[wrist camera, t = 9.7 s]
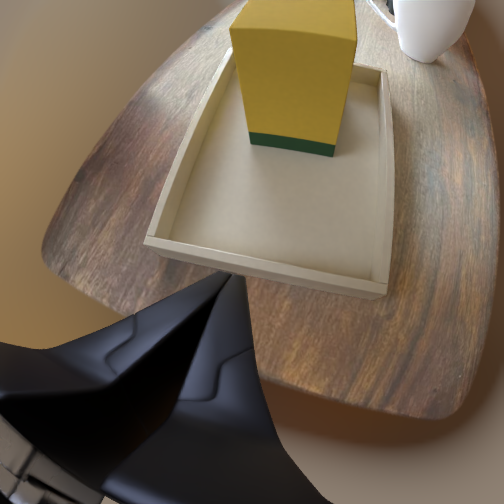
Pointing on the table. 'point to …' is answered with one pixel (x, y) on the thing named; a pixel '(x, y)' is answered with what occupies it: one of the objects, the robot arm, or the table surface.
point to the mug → (428, 25)
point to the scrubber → (295, 70)
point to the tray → (284, 194)
